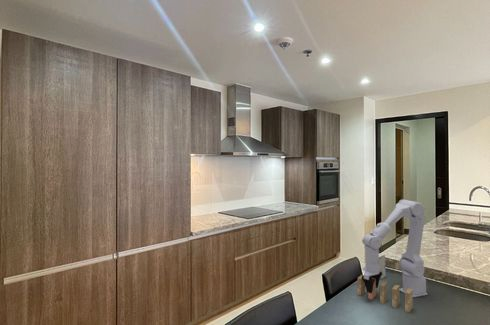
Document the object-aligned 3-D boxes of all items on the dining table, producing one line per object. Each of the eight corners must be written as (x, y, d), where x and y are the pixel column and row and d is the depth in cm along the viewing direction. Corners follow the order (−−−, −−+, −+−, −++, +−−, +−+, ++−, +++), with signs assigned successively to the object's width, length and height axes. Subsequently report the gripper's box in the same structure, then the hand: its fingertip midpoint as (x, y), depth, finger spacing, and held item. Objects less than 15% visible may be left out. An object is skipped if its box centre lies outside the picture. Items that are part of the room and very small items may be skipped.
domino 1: (365, 292, 130) (365, 275, 130) (361, 295, 126) (360, 279, 126) (361, 291, 131) (361, 274, 131) (357, 294, 127) (357, 277, 127)
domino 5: (412, 307, 115) (412, 289, 115) (409, 312, 112) (409, 293, 112) (408, 306, 117) (408, 288, 116) (405, 311, 113) (404, 292, 113)
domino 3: (387, 299, 123) (387, 282, 122) (383, 303, 119) (383, 285, 119) (383, 298, 124) (383, 281, 124) (380, 302, 120) (379, 284, 120)
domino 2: (375, 295, 126) (375, 278, 126) (371, 299, 123) (371, 282, 123) (372, 294, 127) (372, 277, 127) (368, 298, 124) (368, 281, 124)
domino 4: (399, 303, 119) (399, 285, 119) (396, 308, 115) (396, 289, 115) (395, 302, 120) (395, 284, 120) (392, 306, 117) (392, 288, 117)
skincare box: (379, 279, 143) (379, 256, 142) (371, 276, 146) (371, 254, 146) (386, 276, 146) (385, 254, 146) (378, 273, 150) (377, 252, 150)
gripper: (369, 254, 133) (369, 281, 133) (356, 262, 122) (357, 292, 123) (384, 258, 128) (384, 286, 128) (372, 267, 117) (373, 297, 118)
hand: (372, 289), depth 125 cm, fingers open, 6 cm apart
